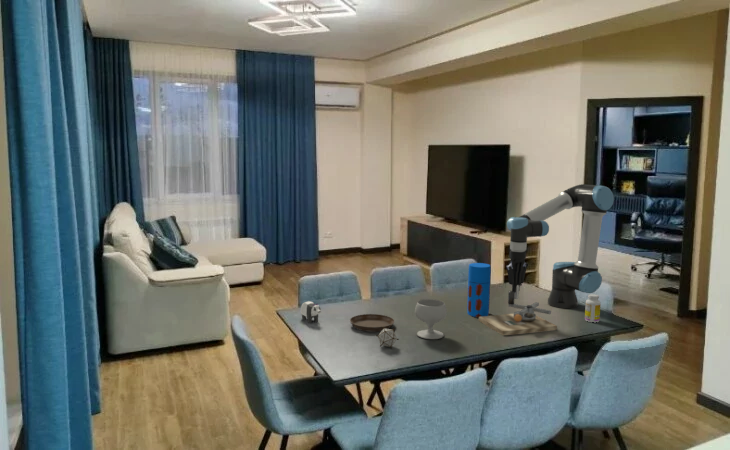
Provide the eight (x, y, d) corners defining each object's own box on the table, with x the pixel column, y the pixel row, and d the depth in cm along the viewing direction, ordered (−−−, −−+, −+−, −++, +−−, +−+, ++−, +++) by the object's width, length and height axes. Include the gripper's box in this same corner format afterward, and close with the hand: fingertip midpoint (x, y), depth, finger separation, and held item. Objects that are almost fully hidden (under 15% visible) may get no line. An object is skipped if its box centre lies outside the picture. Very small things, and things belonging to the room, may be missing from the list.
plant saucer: (372, 317, 270) (372, 310, 269) (403, 327, 255) (403, 320, 255) (340, 326, 256) (340, 319, 255) (372, 337, 241) (372, 330, 240)
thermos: (489, 317, 269) (491, 268, 266) (466, 316, 271) (468, 266, 268) (488, 311, 280) (490, 263, 276) (467, 310, 282) (468, 262, 279)
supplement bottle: (599, 320, 267) (601, 294, 266) (599, 323, 261) (601, 297, 260) (584, 318, 270) (586, 292, 268) (584, 321, 264) (585, 295, 262)
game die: (382, 354, 231) (374, 332, 235) (401, 346, 231) (393, 324, 235) (381, 350, 222) (372, 327, 226) (400, 343, 223) (391, 320, 227)
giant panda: (299, 318, 266) (299, 299, 265) (310, 316, 269) (309, 297, 268) (314, 326, 254) (314, 306, 253) (324, 324, 257) (324, 304, 256)
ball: (519, 320, 258) (519, 312, 258) (523, 322, 255) (523, 314, 254) (512, 320, 257) (512, 313, 257) (516, 323, 254) (516, 315, 253)
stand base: (529, 316, 273) (529, 311, 272) (556, 330, 252) (557, 325, 252) (478, 320, 265) (478, 316, 264) (502, 335, 244) (503, 330, 244)
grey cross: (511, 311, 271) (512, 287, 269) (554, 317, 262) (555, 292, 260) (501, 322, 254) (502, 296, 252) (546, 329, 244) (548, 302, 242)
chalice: (438, 343, 234) (439, 308, 232) (408, 336, 241) (409, 303, 239) (451, 333, 246) (452, 301, 244) (422, 328, 253) (423, 296, 251)
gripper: (521, 247, 267) (518, 294, 270) (502, 250, 260) (500, 298, 264) (533, 250, 260) (530, 298, 264) (514, 253, 254) (511, 302, 258)
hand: (515, 298), depth 264 cm, fingers closed
